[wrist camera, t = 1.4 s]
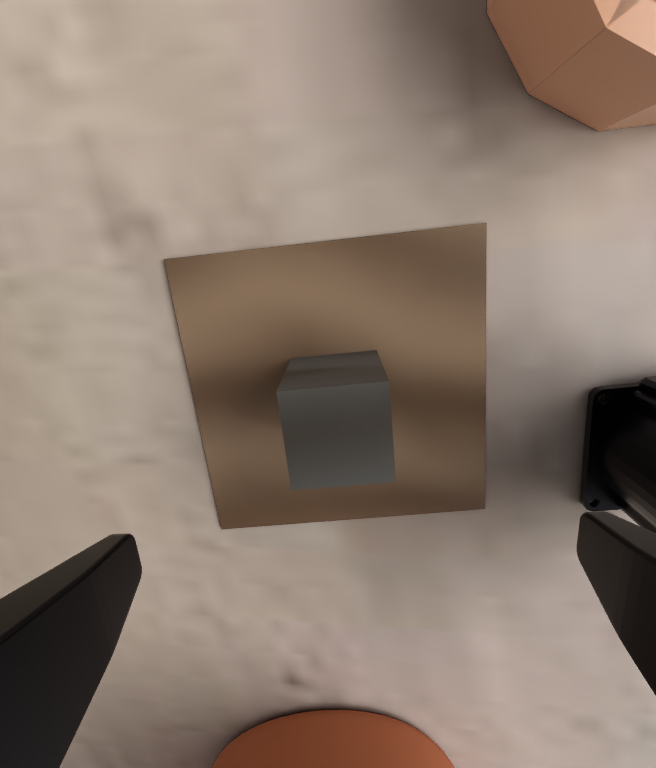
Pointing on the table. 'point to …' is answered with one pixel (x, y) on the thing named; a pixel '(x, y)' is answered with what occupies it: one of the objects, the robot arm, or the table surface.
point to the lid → (339, 375)
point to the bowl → (584, 56)
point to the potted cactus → (333, 743)
